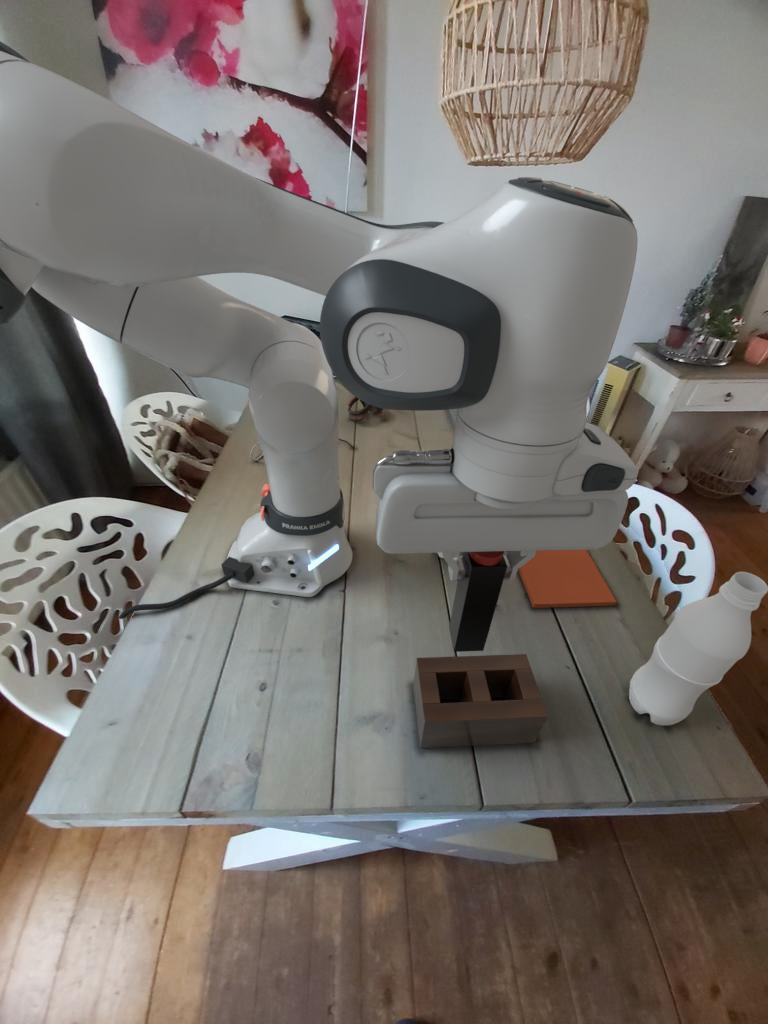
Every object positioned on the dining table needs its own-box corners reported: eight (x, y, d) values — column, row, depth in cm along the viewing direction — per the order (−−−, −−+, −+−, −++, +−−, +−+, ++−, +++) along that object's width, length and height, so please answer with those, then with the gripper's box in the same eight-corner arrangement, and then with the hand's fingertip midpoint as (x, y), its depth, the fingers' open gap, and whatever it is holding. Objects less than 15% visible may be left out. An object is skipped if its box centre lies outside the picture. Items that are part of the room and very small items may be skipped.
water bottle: (656, 741, 56) (768, 621, 41) (611, 694, 61) (694, 570, 45) (692, 716, 59) (809, 594, 43) (645, 672, 64) (735, 549, 48)
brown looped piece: (388, 427, 121) (376, 406, 114) (358, 439, 123) (344, 420, 117) (384, 398, 128) (371, 377, 121) (355, 411, 130) (341, 391, 124)
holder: (534, 743, 56) (548, 716, 52) (420, 748, 55) (424, 722, 51) (515, 681, 62) (526, 653, 58) (413, 685, 62) (416, 657, 57)
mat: (533, 608, 73) (534, 604, 72) (509, 549, 84) (510, 545, 83) (615, 605, 73) (617, 601, 73) (581, 547, 84) (583, 543, 84)
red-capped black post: (453, 652, 47) (473, 559, 38) (448, 626, 49) (466, 534, 41) (483, 650, 47) (510, 558, 38) (477, 626, 50) (500, 533, 41)
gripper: (374, 475, 30) (372, 604, 39) (662, 472, 31) (597, 598, 40) (371, 430, 35) (370, 554, 44) (620, 429, 36) (571, 550, 45)
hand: (480, 575), depth 42 cm, fingers closed on red-capped black post, 3 cm apart
